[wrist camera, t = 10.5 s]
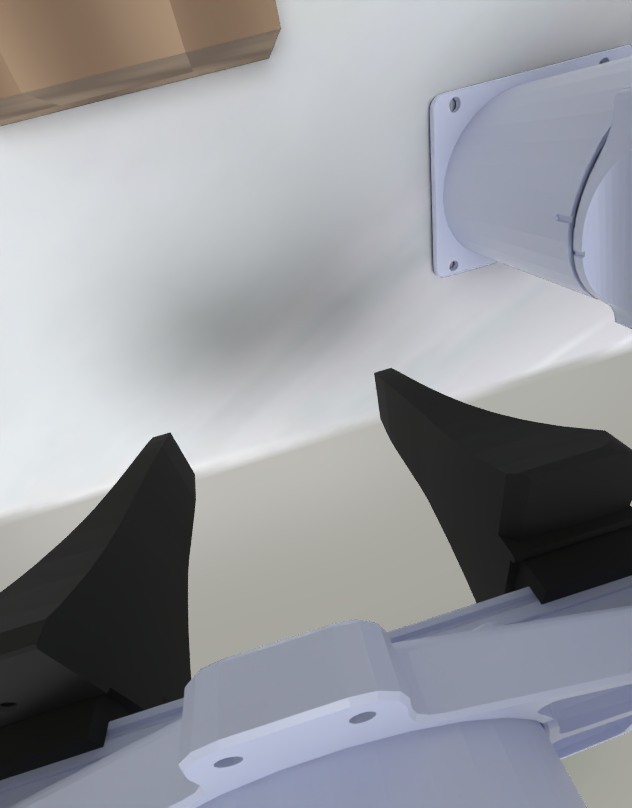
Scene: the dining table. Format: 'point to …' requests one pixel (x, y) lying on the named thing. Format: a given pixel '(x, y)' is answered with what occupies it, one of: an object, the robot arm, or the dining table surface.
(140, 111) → the dining table surface
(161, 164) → the dining table surface
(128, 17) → the socket holder
